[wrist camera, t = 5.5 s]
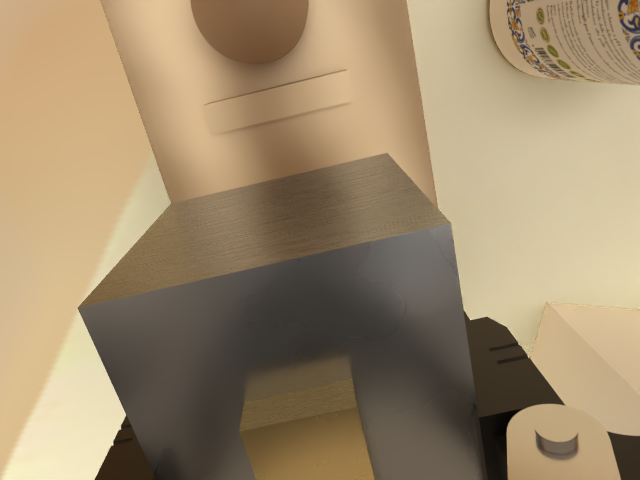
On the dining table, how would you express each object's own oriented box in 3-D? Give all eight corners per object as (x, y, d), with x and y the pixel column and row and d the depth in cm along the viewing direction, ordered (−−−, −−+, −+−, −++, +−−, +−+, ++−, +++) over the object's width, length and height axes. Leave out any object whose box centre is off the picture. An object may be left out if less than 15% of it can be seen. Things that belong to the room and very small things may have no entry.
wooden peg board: (376, -71, 23) (414, -136, 15) (442, 333, 30) (489, 424, 23) (126, -8, 23) (44, -40, 16) (252, 375, 31) (238, 477, 23)
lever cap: (387, 152, 11) (464, 239, 6) (438, 432, 14) (522, 664, 8) (171, 203, 11) (55, 331, 6) (264, 468, 14) (241, 715, 9)
